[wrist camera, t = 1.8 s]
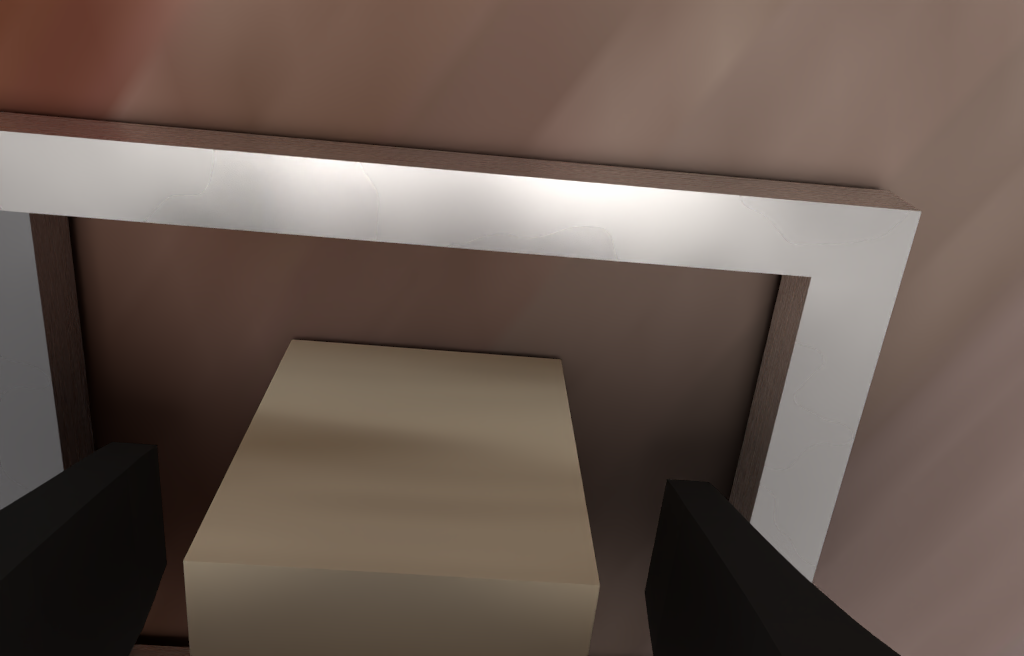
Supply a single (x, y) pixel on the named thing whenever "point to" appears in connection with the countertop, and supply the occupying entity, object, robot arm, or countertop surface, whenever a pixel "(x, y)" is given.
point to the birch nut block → (399, 513)
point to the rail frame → (470, 225)
